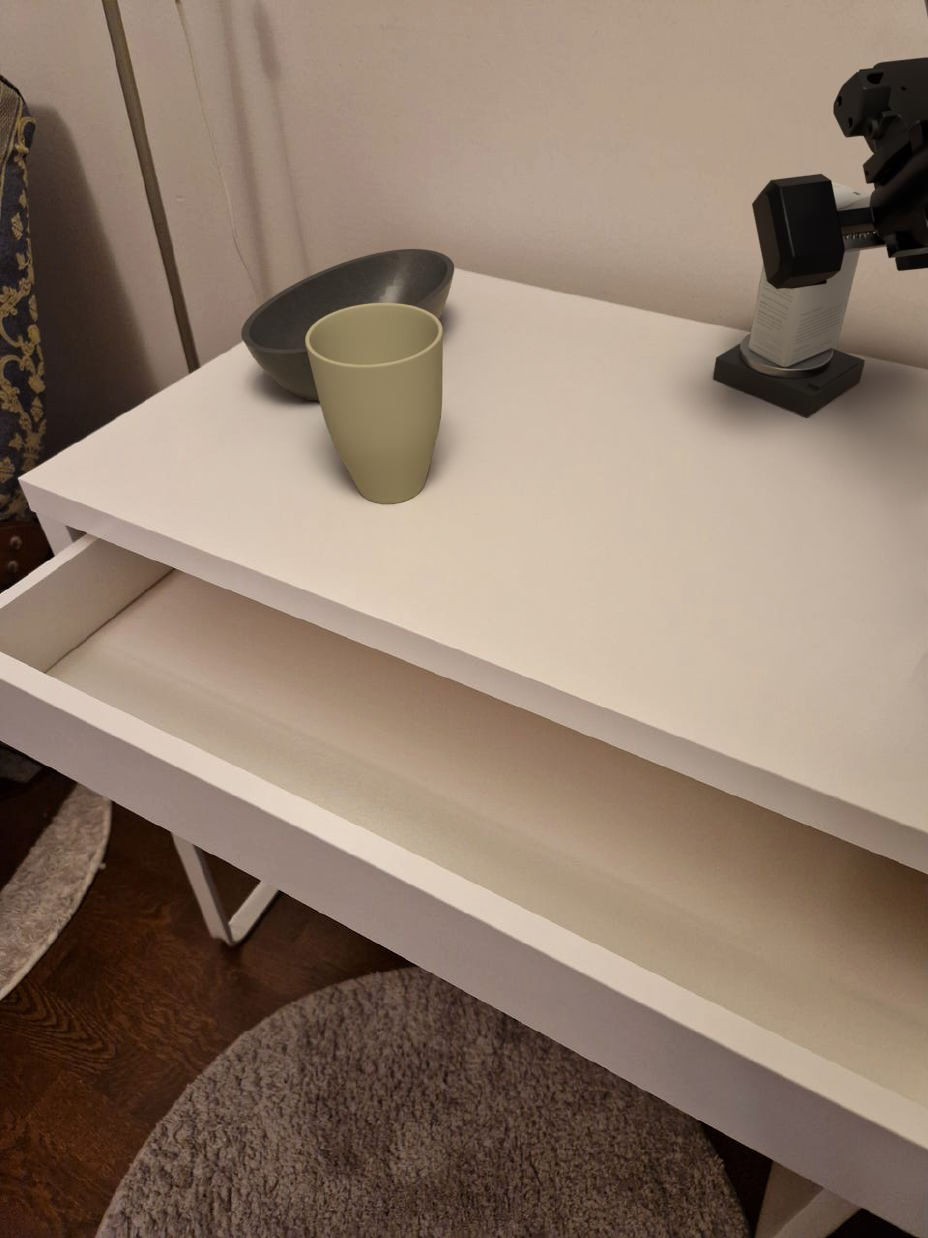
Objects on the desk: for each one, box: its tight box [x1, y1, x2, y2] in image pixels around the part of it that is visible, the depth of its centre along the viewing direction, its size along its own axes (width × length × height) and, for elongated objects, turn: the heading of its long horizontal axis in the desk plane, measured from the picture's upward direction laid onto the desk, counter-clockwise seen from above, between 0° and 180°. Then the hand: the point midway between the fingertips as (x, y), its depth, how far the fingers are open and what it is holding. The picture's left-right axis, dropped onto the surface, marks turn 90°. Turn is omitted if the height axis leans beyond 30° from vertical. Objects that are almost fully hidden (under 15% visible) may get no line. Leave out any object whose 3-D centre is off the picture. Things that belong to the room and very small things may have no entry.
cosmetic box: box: [749, 181, 872, 367], centre depth 74 cm, size 6×4×12 cm
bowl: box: [240, 248, 455, 402], centre depth 83 cm, size 12×22×6 cm, turn 142°
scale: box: [712, 332, 866, 419], centre depth 79 cm, size 9×8×3 cm
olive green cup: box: [305, 303, 444, 505], centre depth 68 cm, size 11×10×12 cm
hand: (838, 271), depth 69 cm, fingers open, 9 cm apart
